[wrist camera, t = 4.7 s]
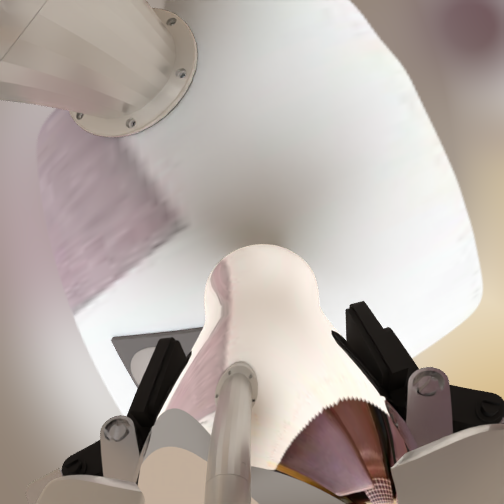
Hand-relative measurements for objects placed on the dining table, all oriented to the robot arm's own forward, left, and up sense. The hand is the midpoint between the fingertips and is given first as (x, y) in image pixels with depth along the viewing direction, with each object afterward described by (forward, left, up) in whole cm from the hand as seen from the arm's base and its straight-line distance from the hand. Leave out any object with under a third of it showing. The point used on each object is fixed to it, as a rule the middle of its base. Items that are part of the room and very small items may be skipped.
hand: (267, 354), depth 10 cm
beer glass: (0, 0, -5) cm, 5 cm away
